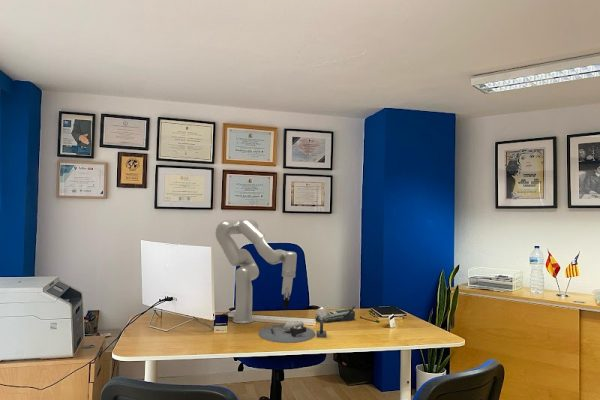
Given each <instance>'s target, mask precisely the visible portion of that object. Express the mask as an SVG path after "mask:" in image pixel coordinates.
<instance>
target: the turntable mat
mask: <svg viewBox="0 0 600 400" xmlns="http://www.w3.org/2000/svg"><path fill="white" fill-rule="evenodd" d="M284 325H285V324H275V325H270V326H269V325H268V326H266V327H263V328H261V329H260V330H258V333H257V334H258V336H259V337H260V338H261V339H264V340H266V341H269V342H273V343H274V342H275V343H282V344H294V343H295V344H296V343H303V342H306V341H307V342H308V341H310V340H312V339H314V338H315V336H316V331H315V330H313V329H311V328H310V327H307V326H305V327H306V330H307V331H306V332H304V333H301V334H298V335H296V337H293V336H292V335H291V332H287V331H285V330H284ZM271 328H272V329H273V331H274V333H275V334H272V332H271ZM276 328H279V329H280V330H283V331H285V332H283V331H280V330H279V329H276ZM275 329H276V331H275Z"/></svg>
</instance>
